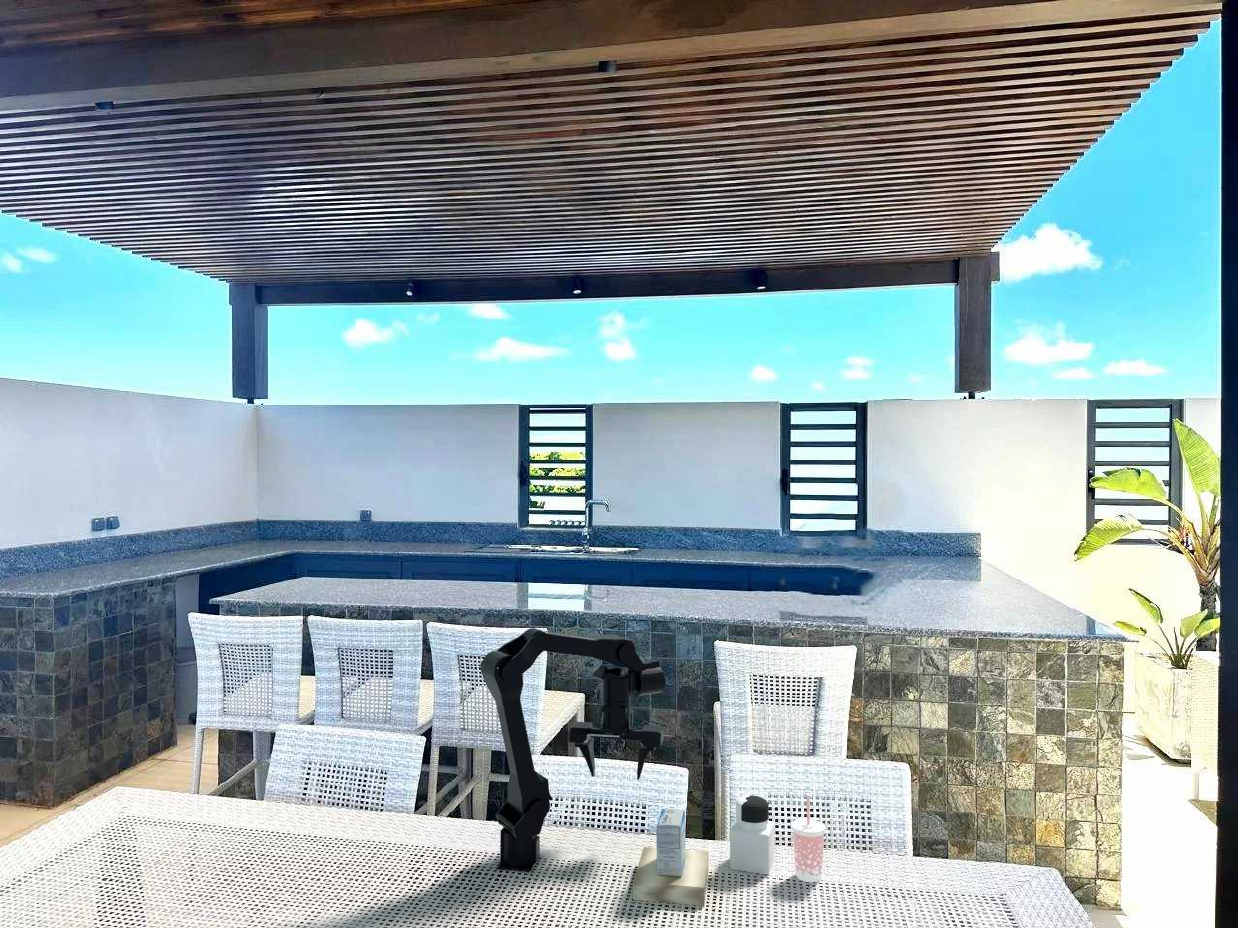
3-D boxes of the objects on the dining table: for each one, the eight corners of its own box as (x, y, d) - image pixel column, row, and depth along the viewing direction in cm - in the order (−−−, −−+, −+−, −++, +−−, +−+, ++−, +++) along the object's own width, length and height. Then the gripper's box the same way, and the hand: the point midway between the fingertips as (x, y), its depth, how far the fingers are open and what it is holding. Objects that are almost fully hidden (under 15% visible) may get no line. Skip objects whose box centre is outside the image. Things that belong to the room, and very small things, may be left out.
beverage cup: (827, 885, 140) (826, 804, 141) (791, 882, 142) (791, 801, 142) (825, 870, 146) (824, 792, 147) (791, 866, 148) (790, 789, 148)
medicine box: (682, 877, 137) (682, 826, 137) (656, 875, 137) (656, 824, 138) (685, 857, 144) (685, 808, 145) (661, 855, 145) (661, 807, 145)
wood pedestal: (633, 899, 135) (633, 881, 135) (643, 863, 149) (643, 846, 149) (704, 905, 133) (704, 887, 133) (708, 868, 147) (708, 851, 147)
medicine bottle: (774, 859, 151) (774, 794, 151) (768, 875, 144) (768, 808, 145) (737, 853, 153) (736, 790, 154) (729, 869, 146) (729, 803, 147)
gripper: (666, 691, 168) (666, 767, 167) (579, 687, 171) (578, 762, 170) (660, 704, 157) (660, 785, 156) (567, 700, 160) (567, 779, 159)
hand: (615, 777), depth 160 cm, fingers open, 9 cm apart
